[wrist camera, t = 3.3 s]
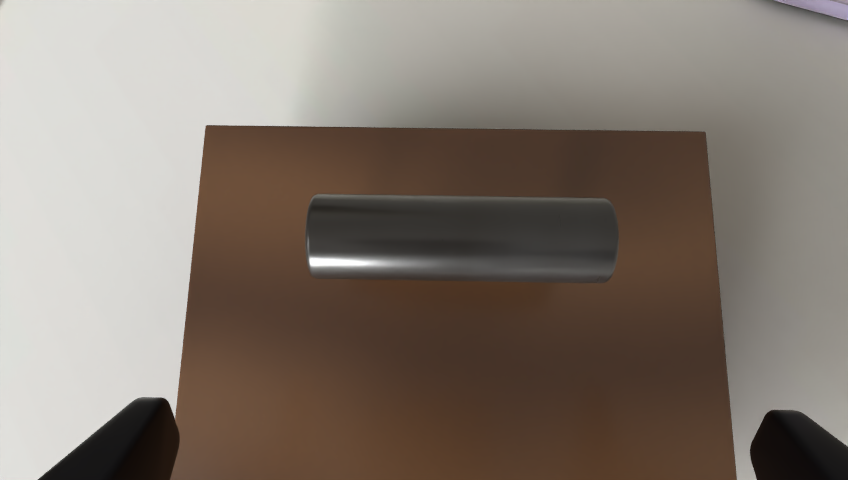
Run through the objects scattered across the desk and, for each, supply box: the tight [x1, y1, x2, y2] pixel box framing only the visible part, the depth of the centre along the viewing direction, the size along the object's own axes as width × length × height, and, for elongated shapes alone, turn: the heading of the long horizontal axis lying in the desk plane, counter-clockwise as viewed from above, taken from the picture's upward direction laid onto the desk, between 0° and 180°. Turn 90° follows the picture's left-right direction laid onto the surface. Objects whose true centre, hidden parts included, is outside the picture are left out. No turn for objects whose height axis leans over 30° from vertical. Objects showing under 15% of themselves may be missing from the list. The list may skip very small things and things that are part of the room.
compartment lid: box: [170, 125, 737, 480], centre depth 12 cm, size 10×13×5 cm
